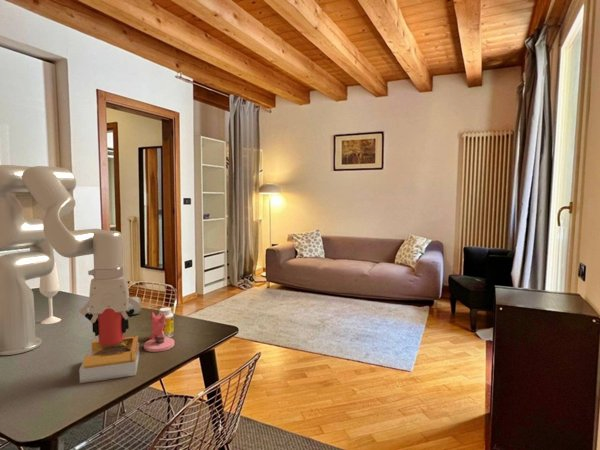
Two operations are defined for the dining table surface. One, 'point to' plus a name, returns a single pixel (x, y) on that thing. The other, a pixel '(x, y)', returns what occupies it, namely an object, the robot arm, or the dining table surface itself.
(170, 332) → the supplement bottle
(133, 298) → the ceramic mug
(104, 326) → the beer can
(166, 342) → the toy figure
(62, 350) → the dining table surface
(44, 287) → the champagne flute
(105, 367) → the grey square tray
